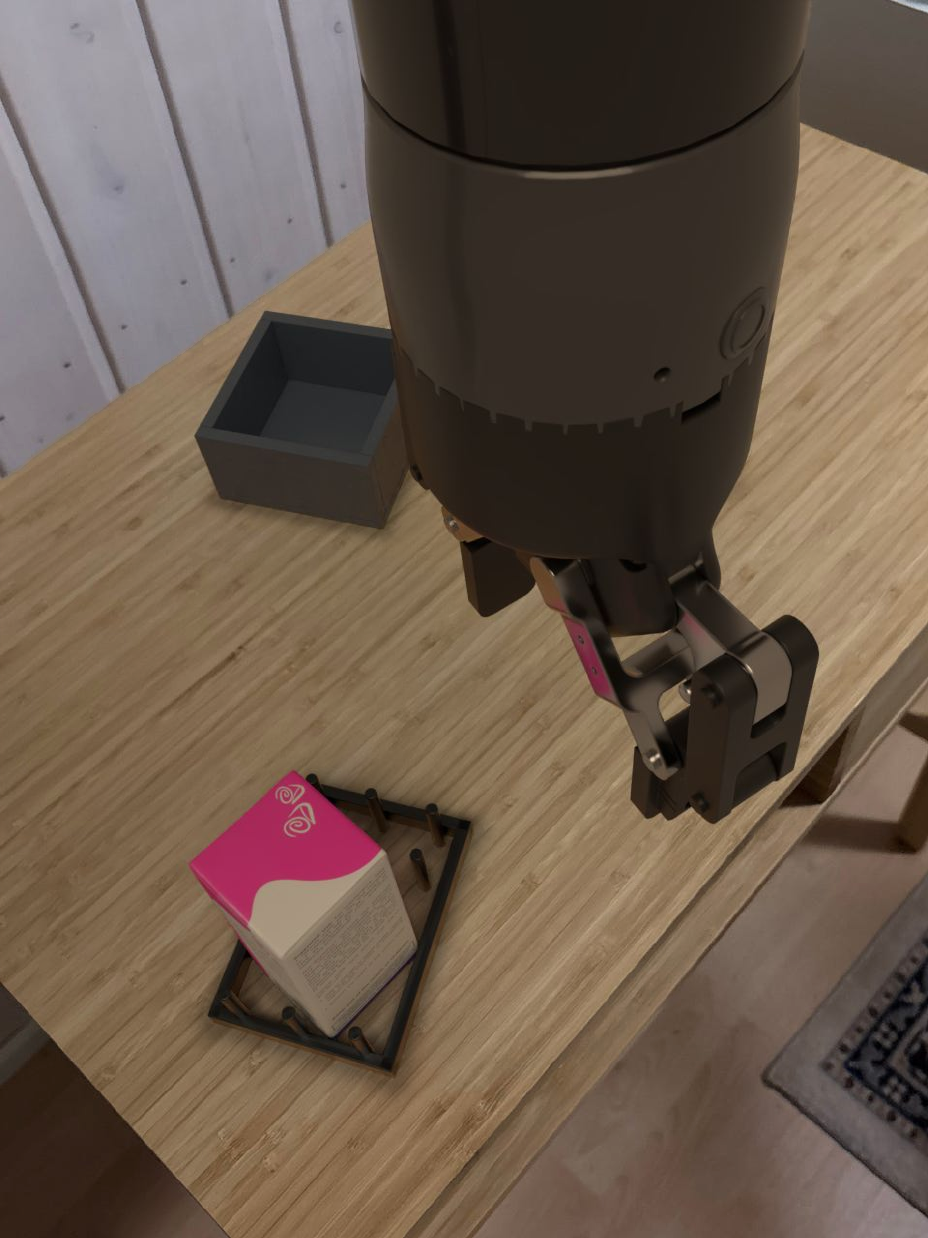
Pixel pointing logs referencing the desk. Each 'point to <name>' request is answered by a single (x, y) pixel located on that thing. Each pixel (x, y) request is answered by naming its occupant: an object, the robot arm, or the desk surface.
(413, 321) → the robot arm
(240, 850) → the supplement box
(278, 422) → the dark grey storage bin
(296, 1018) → the dish rack
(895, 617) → the desk surface
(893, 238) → the desk surface
